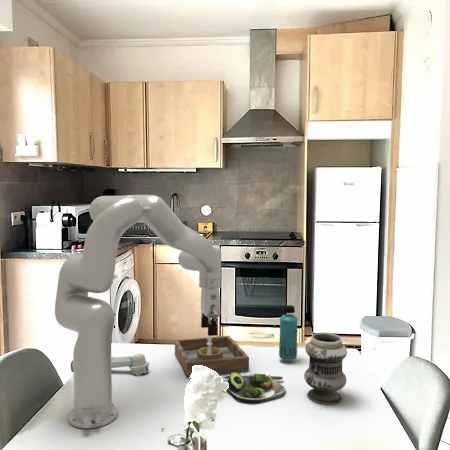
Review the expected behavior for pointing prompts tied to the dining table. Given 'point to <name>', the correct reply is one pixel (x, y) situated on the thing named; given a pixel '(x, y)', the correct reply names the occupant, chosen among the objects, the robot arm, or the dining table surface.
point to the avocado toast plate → (253, 387)
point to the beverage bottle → (288, 334)
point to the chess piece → (209, 344)
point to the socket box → (211, 355)
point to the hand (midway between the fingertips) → (208, 331)
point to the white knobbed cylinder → (128, 363)
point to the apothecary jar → (325, 368)
